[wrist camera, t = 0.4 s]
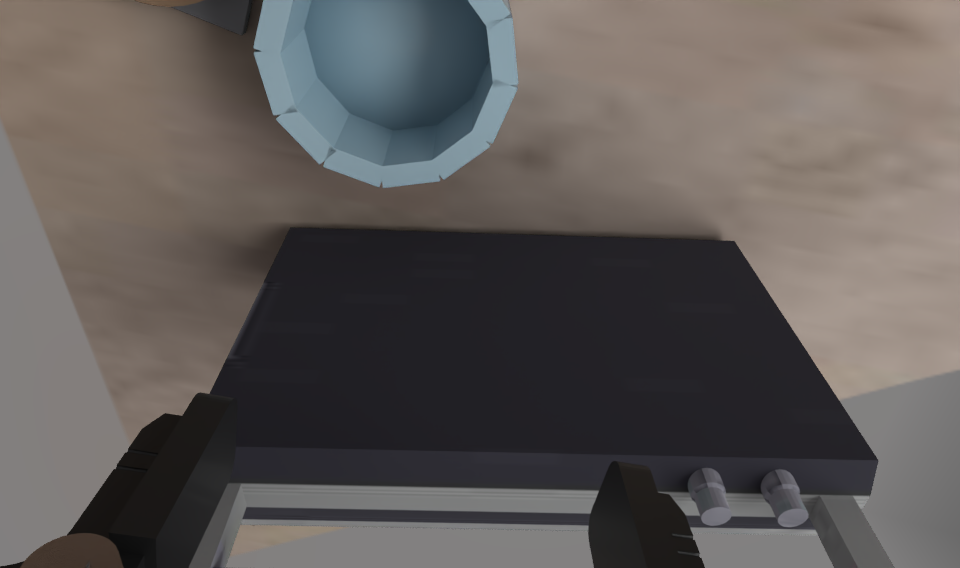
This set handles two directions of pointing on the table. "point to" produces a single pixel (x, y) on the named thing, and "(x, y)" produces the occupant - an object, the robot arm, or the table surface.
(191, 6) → the mat
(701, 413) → the radio
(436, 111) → the bowl
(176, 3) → the lid
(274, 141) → the table surface
